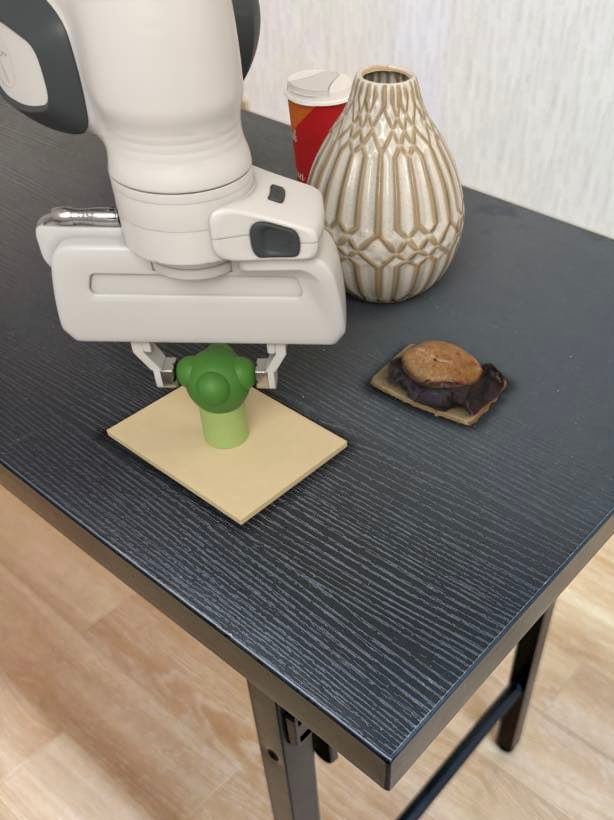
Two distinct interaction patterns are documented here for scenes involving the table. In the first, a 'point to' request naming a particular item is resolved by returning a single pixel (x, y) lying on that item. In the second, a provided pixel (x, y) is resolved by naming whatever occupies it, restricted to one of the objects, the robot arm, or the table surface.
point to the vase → (389, 189)
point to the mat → (229, 451)
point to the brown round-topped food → (441, 381)
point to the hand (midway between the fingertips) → (218, 383)
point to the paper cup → (314, 112)
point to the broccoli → (219, 392)
